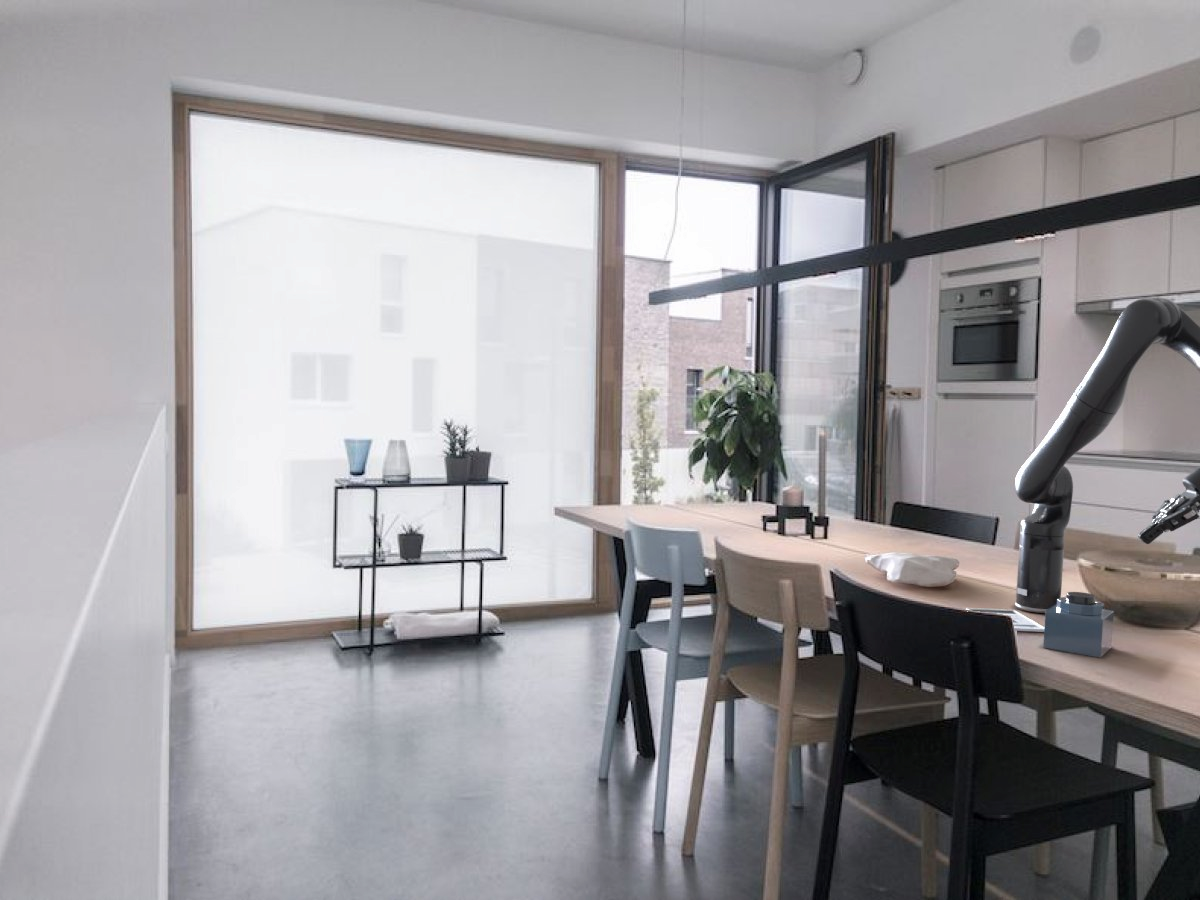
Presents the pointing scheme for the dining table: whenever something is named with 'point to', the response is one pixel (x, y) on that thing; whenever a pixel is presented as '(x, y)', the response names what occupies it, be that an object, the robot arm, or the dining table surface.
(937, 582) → the rock
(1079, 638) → the blue-grey box with cap
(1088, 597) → the button
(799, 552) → the dining table surface
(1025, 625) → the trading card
